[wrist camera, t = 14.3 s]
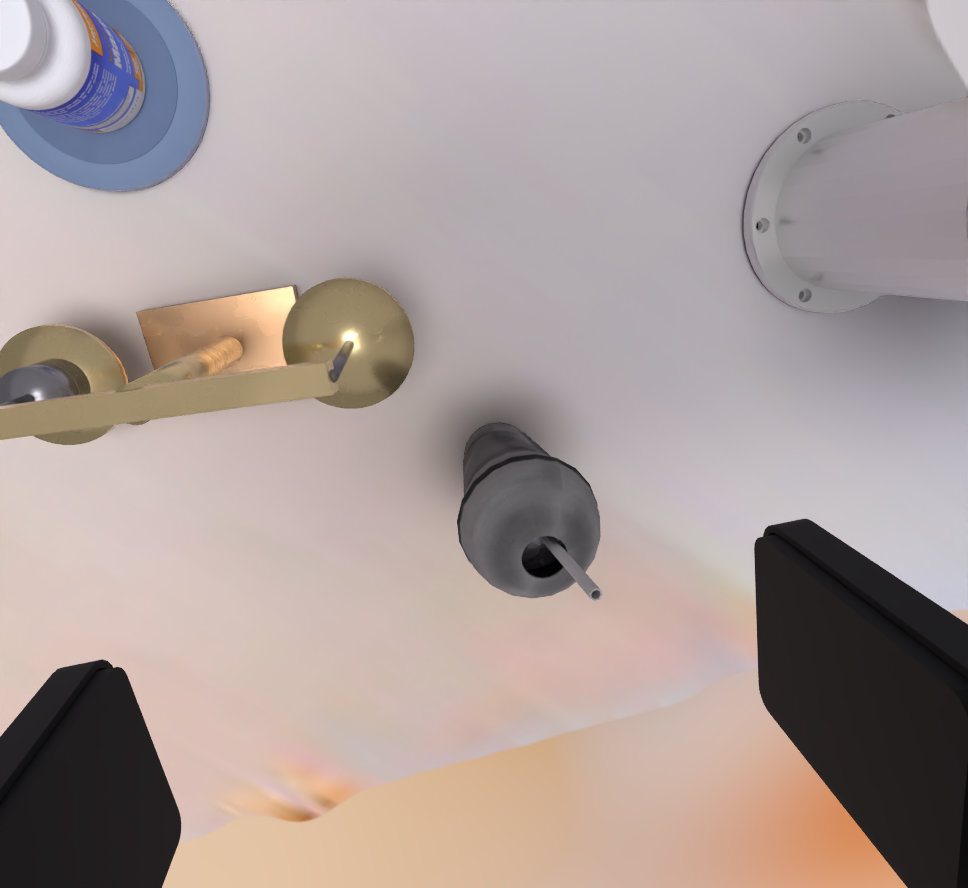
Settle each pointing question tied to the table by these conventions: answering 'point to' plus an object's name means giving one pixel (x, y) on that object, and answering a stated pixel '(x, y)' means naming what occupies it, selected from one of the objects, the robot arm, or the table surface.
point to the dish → (155, 129)
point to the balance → (210, 361)
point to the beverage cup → (526, 516)
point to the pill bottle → (68, 65)
